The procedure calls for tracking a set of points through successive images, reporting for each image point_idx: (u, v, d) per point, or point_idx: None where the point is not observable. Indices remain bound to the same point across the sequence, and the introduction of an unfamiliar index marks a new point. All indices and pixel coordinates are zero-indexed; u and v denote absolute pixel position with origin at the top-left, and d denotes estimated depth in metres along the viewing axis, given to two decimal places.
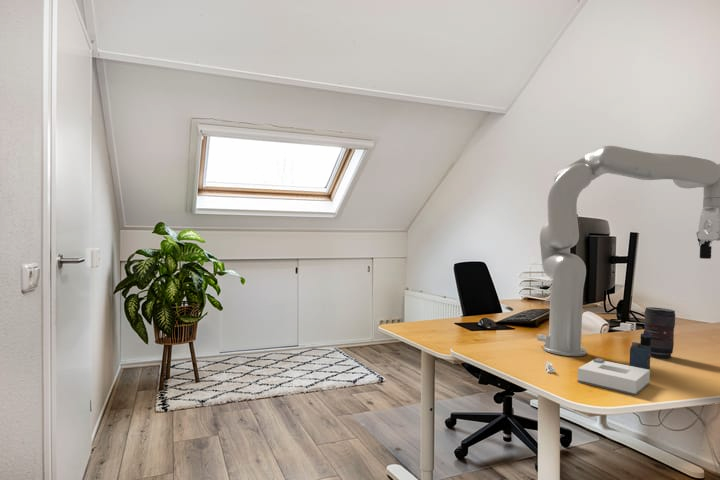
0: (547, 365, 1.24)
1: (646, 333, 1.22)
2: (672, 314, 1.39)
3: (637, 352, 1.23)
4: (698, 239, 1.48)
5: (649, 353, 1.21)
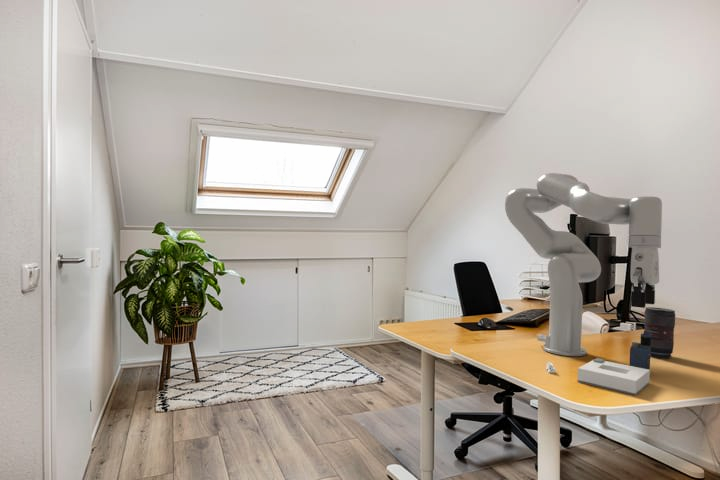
0: (548, 365, 1.24)
1: (646, 333, 1.22)
2: (672, 314, 1.39)
3: (637, 352, 1.23)
4: (641, 284, 1.18)
5: (649, 353, 1.21)
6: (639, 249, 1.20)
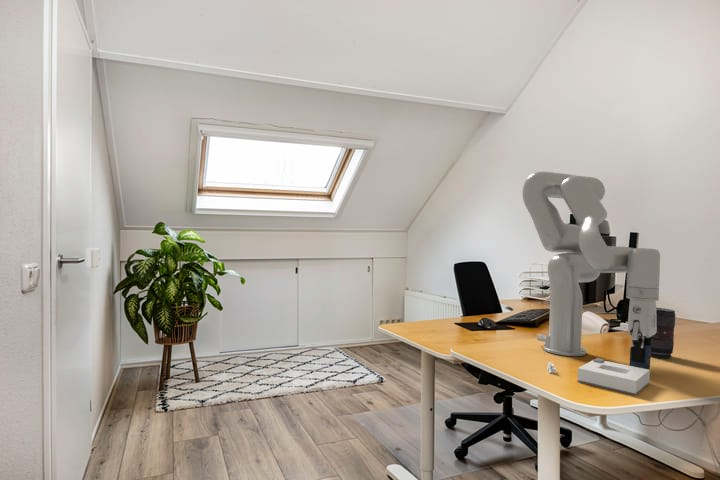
0: (549, 365, 1.23)
1: None
2: (672, 314, 1.39)
3: None
4: (641, 341, 1.20)
5: (649, 353, 1.21)
6: (637, 301, 1.21)
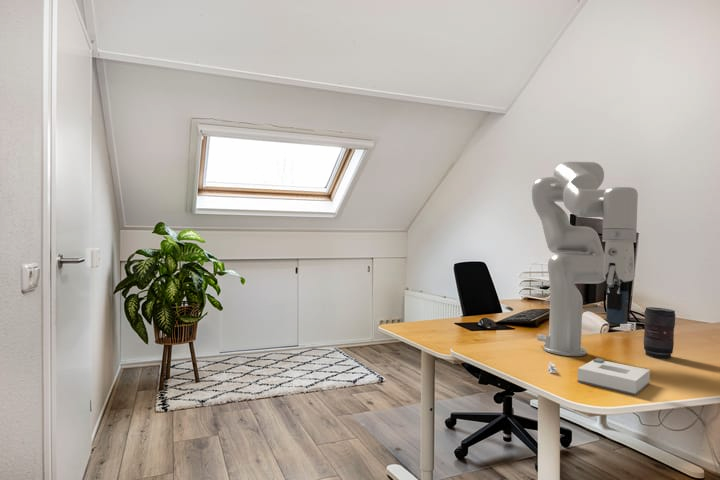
0: (550, 366, 1.23)
1: None
2: (672, 314, 1.39)
3: None
4: (617, 286, 1.12)
5: (627, 299, 1.13)
6: (612, 243, 1.12)
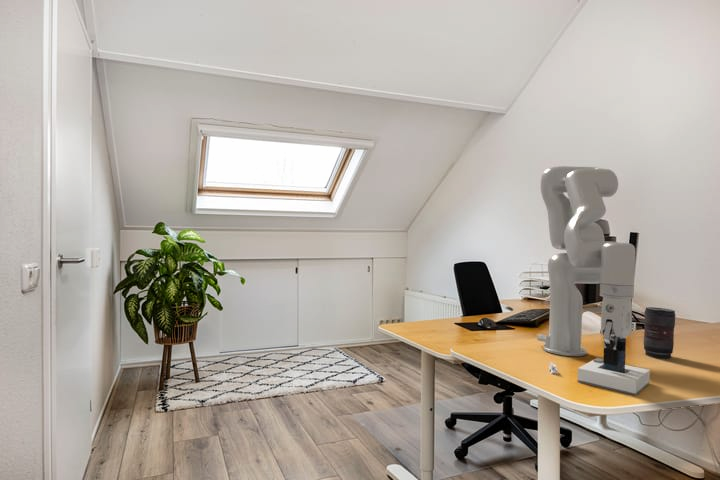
0: (551, 366, 1.23)
1: None
2: (672, 314, 1.39)
3: None
4: (613, 342, 1.11)
5: (624, 358, 1.13)
6: (610, 299, 1.13)
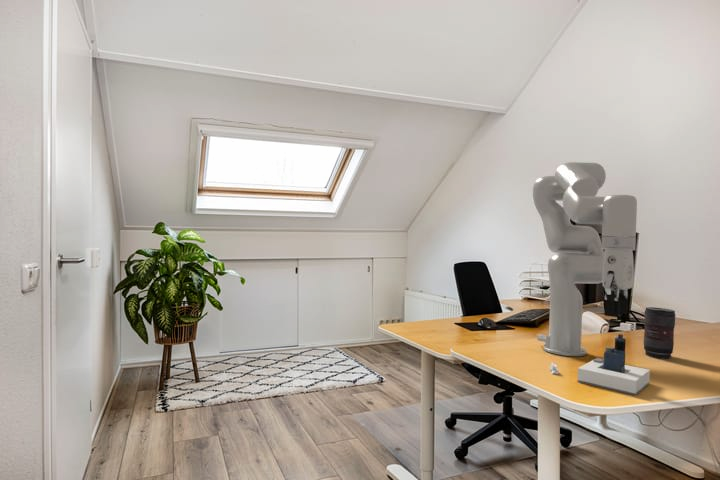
0: (551, 366, 1.23)
1: (621, 337, 1.14)
2: (672, 314, 1.39)
3: (611, 357, 1.15)
4: (614, 292, 1.11)
5: (624, 358, 1.14)
6: (611, 251, 1.12)
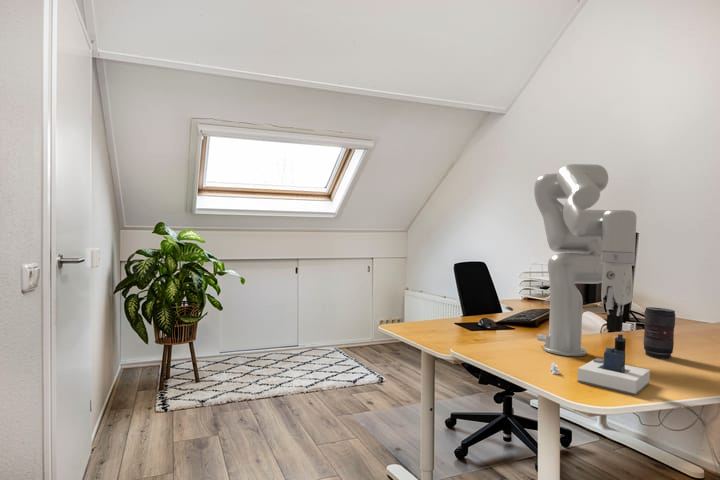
0: (552, 366, 1.23)
1: (621, 337, 1.14)
2: (672, 314, 1.39)
3: (611, 357, 1.15)
4: (616, 308, 1.13)
5: (624, 358, 1.14)
6: (611, 266, 1.13)
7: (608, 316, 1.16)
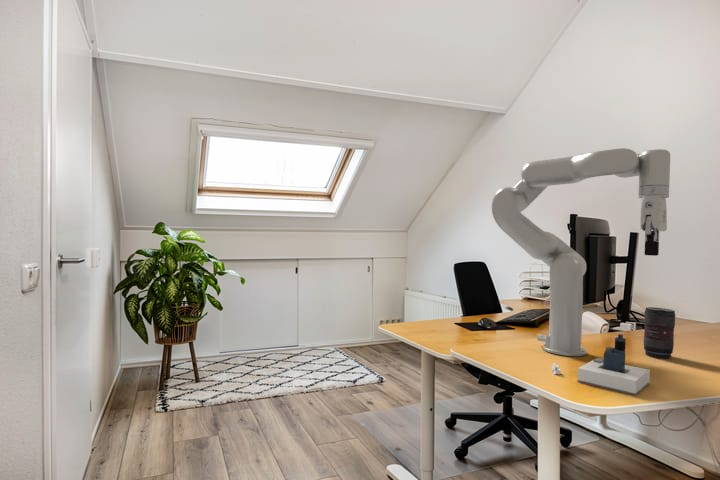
0: (554, 367, 1.22)
1: (621, 337, 1.14)
2: (672, 314, 1.39)
3: (611, 357, 1.15)
4: (654, 234, 1.31)
5: (624, 358, 1.14)
6: (648, 197, 1.30)
7: (646, 243, 1.34)
